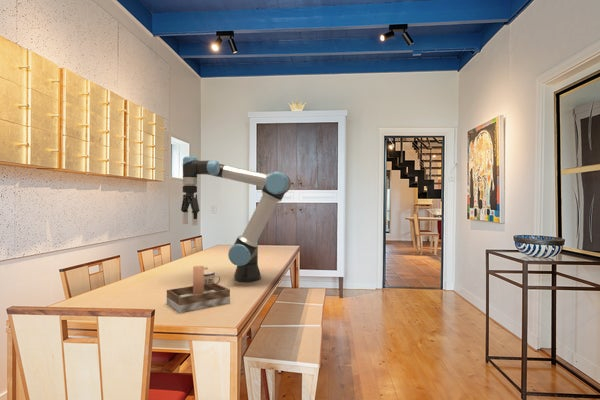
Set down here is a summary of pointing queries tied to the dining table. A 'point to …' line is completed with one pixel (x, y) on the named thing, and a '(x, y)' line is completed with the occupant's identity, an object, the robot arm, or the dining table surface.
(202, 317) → the dining table surface
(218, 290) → the box
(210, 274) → the teacup with lid
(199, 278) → the peg
